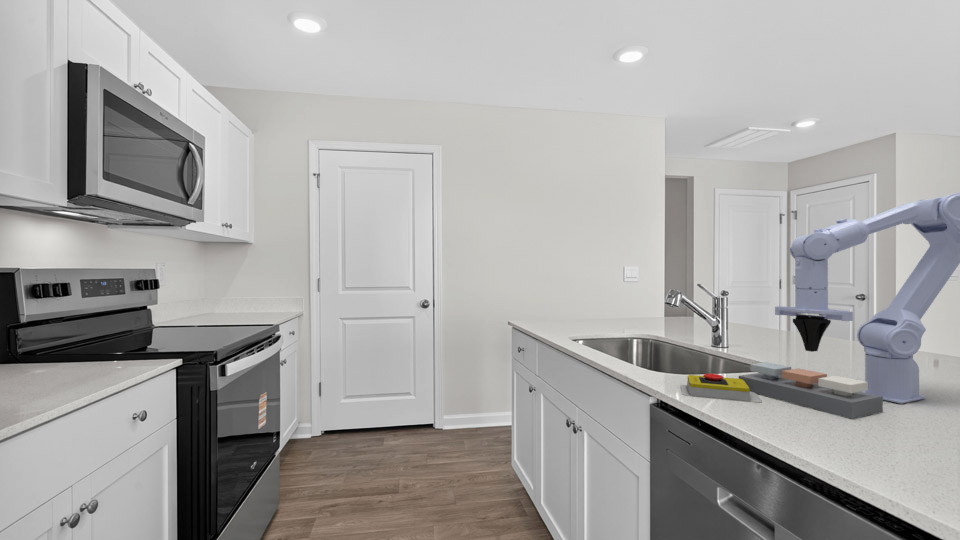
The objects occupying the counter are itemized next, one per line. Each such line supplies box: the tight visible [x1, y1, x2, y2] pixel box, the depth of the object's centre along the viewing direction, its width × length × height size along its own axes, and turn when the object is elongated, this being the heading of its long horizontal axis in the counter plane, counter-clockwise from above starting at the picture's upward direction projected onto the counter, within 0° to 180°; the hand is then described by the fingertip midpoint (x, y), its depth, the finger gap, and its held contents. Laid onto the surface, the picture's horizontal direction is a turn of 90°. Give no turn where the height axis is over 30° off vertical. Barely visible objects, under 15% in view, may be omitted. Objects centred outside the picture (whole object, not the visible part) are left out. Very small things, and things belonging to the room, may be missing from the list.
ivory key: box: [818, 375, 868, 396], centre depth 85 cm, size 6×6×4 cm
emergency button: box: [680, 373, 763, 404], centre depth 96 cm, size 9×4×15 cm
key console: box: [738, 372, 884, 420], centre depth 91 cm, size 10×22×3 cm, turn 23°
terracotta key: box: [782, 368, 828, 387], centre depth 91 cm, size 6×6×4 cm
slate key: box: [749, 361, 792, 380], centre depth 98 cm, size 6×6×4 cm
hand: (811, 350), depth 95 cm, fingers closed
